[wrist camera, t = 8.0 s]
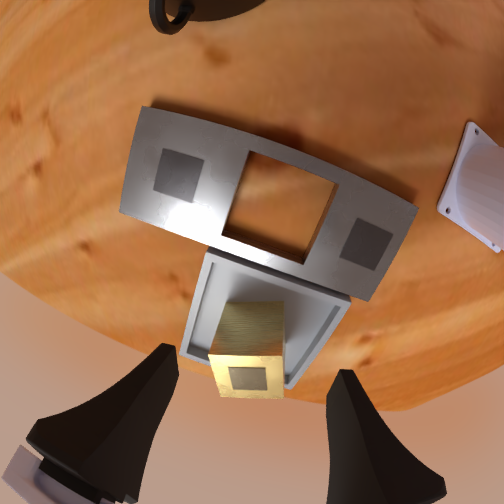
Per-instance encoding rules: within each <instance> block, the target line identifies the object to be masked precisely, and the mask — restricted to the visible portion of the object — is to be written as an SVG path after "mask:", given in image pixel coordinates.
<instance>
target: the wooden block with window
mask: <svg viewBox="0 0 504 504" xmlns="http://www.w3.org/2000/svg"><path fill="white" fill-rule="evenodd" d="M285 352H286V338H285V312H284V301H258V302H226V303H225V306H224V309H223V312H222V315H221V318H220V321H219V324H218V327H217V330H216V333H215V336H214V338H213V341H212V344H211V347H210V350H209V353H208V356H209V359H210V363H211V366H212V370H213V373H214V376H215V380H216V383H217V386H218V389H219V392H220V395H221V396H222V397H238V398H269V399H271V398H272V399H273V398H274V399H276V398H277V399H279V398H280V399H281V398H284V382H285Z"/></svg>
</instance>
